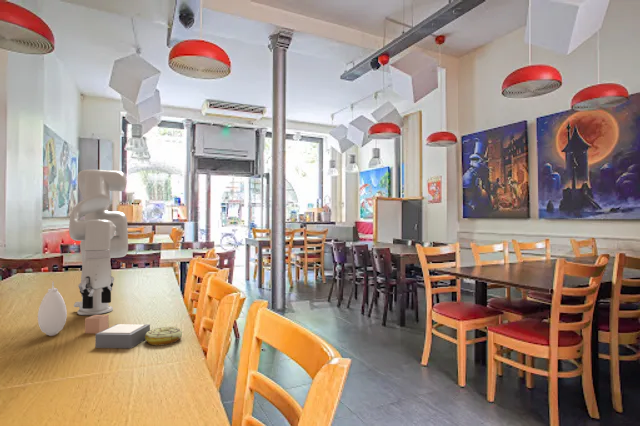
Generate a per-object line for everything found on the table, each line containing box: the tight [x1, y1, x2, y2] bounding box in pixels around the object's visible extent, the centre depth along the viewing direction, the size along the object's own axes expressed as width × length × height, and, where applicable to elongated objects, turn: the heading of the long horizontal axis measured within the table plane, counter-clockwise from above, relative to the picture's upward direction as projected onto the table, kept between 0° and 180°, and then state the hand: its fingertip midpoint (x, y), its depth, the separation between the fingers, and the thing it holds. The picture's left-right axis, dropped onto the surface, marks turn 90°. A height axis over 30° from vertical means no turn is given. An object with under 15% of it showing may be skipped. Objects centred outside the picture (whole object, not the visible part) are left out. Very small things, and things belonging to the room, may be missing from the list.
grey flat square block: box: [94, 323, 151, 349], centre depth 117 cm, size 11×11×4 cm
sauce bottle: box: [37, 281, 68, 337], centre depth 124 cm, size 8×8×18 cm
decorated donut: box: [145, 326, 183, 346], centre depth 118 cm, size 10×11×4 cm
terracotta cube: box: [84, 314, 110, 334], centre depth 129 cm, size 5×5×5 cm
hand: (97, 305), depth 128 cm, fingers open, 9 cm apart
